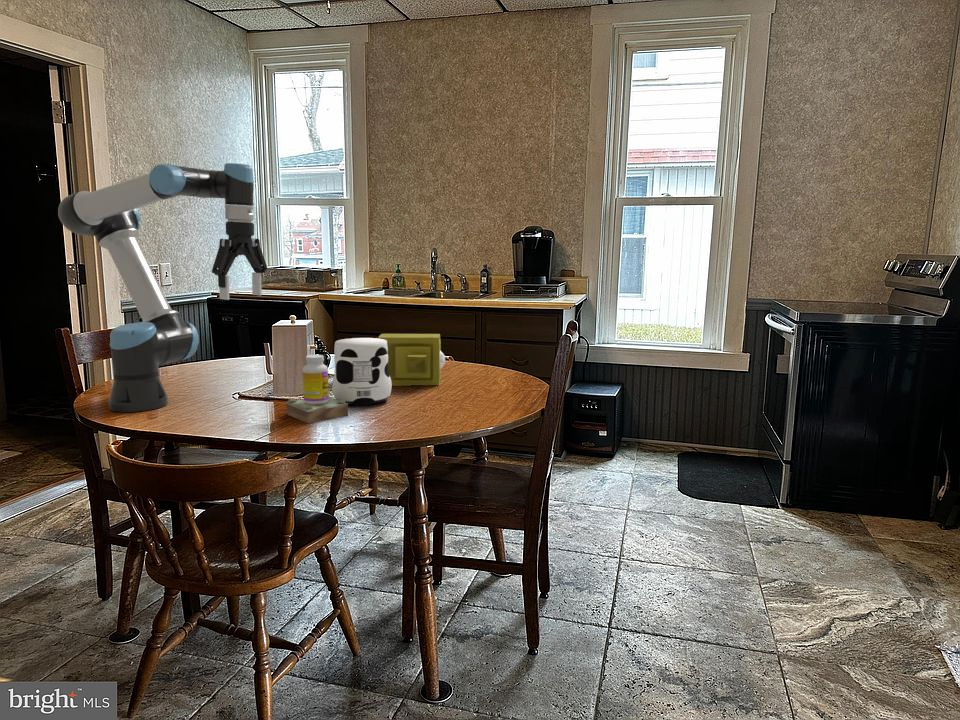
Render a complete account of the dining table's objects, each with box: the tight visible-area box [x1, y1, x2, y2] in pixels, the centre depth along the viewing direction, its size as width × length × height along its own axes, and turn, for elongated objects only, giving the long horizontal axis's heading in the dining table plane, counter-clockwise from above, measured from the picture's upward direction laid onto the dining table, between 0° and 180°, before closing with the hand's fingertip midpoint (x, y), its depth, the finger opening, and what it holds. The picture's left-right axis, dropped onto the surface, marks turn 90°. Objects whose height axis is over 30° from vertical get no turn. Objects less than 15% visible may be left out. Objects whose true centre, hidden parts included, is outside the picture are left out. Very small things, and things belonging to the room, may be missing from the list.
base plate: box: [286, 396, 349, 424], centre depth 185 cm, size 12×12×4 cm
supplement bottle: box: [302, 354, 330, 405], centre depth 184 cm, size 7×7×13 cm
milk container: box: [331, 337, 392, 405], centre depth 200 cm, size 17×17×18 cm
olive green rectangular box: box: [377, 333, 446, 387], centre depth 223 cm, size 35×16×16 cm
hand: (241, 297), depth 194 cm, fingers open, 13 cm apart
